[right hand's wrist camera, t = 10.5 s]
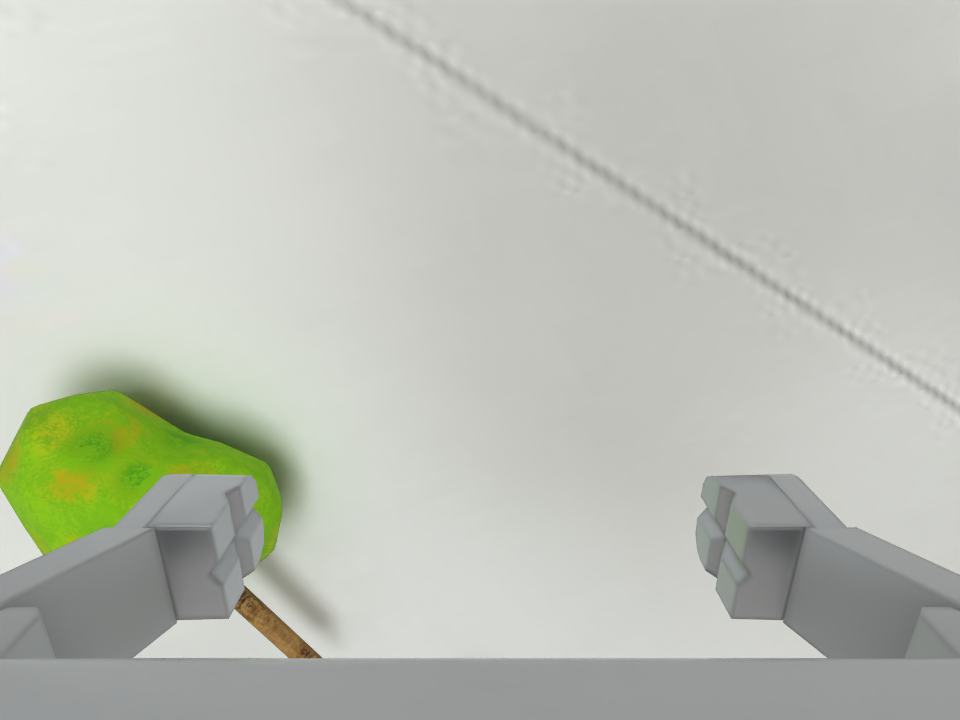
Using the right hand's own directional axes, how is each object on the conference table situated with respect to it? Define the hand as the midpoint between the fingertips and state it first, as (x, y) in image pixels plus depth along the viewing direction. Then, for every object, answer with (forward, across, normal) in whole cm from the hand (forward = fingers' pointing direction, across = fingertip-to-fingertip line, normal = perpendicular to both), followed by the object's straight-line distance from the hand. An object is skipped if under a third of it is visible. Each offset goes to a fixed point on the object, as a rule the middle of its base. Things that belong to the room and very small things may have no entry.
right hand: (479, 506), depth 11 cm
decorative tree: (+32, -22, -23) cm, 45 cm away
